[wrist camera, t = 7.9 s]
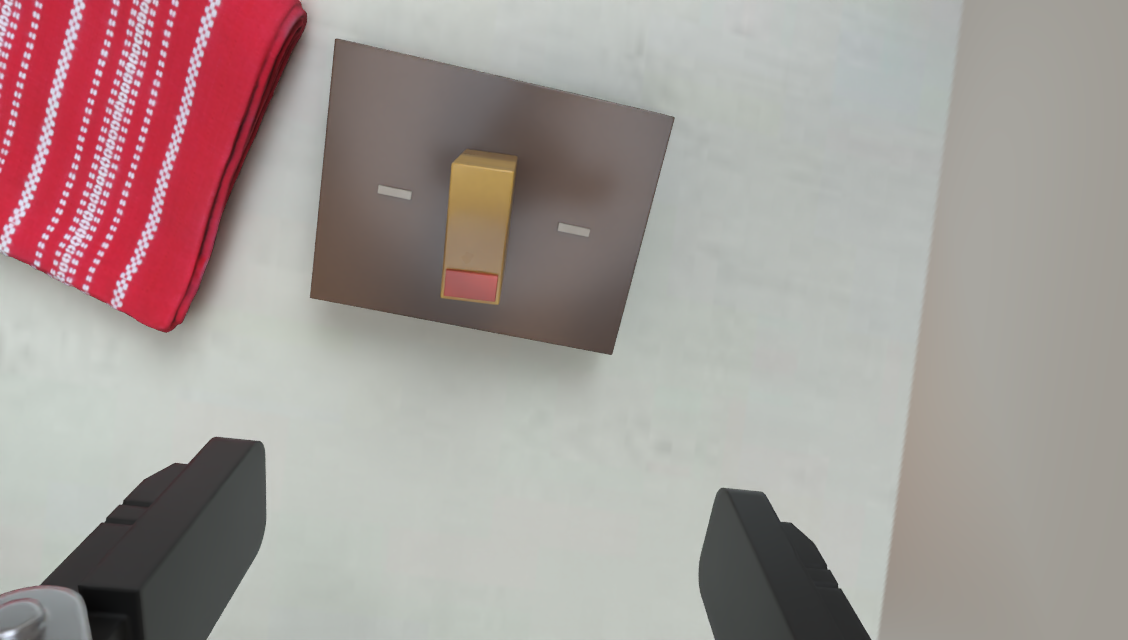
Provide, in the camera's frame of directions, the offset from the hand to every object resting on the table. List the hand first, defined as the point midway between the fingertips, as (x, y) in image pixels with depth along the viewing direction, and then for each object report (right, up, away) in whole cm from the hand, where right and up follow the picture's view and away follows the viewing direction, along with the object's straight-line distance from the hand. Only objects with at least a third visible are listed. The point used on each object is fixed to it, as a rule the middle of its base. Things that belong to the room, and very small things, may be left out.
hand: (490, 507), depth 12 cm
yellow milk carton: (-2, +8, +17) cm, 19 cm away
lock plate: (-2, +9, +20) cm, 22 cm away
